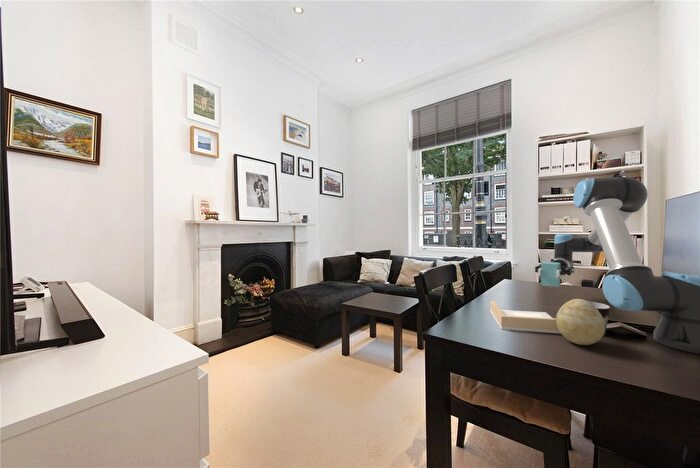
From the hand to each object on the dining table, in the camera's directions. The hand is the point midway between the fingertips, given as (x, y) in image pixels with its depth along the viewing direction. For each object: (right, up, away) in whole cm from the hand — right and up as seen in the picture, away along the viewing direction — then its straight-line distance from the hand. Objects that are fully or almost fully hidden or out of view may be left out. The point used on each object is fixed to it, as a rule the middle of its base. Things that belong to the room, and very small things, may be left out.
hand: (548, 273), depth 124 cm
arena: (-15, -19, -8) cm, 25 cm away
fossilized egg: (-10, -20, -29) cm, 36 cm away
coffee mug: (+1, -19, -20) cm, 27 cm away
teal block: (+4, -6, +4) cm, 8 cm away
